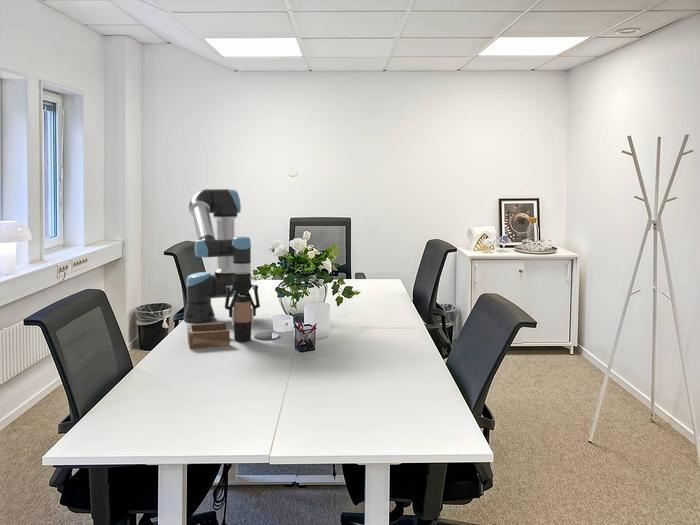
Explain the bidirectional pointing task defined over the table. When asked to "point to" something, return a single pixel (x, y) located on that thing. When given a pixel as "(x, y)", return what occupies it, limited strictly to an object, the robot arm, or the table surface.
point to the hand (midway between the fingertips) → (242, 323)
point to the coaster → (263, 336)
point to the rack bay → (208, 335)
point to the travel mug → (242, 318)
